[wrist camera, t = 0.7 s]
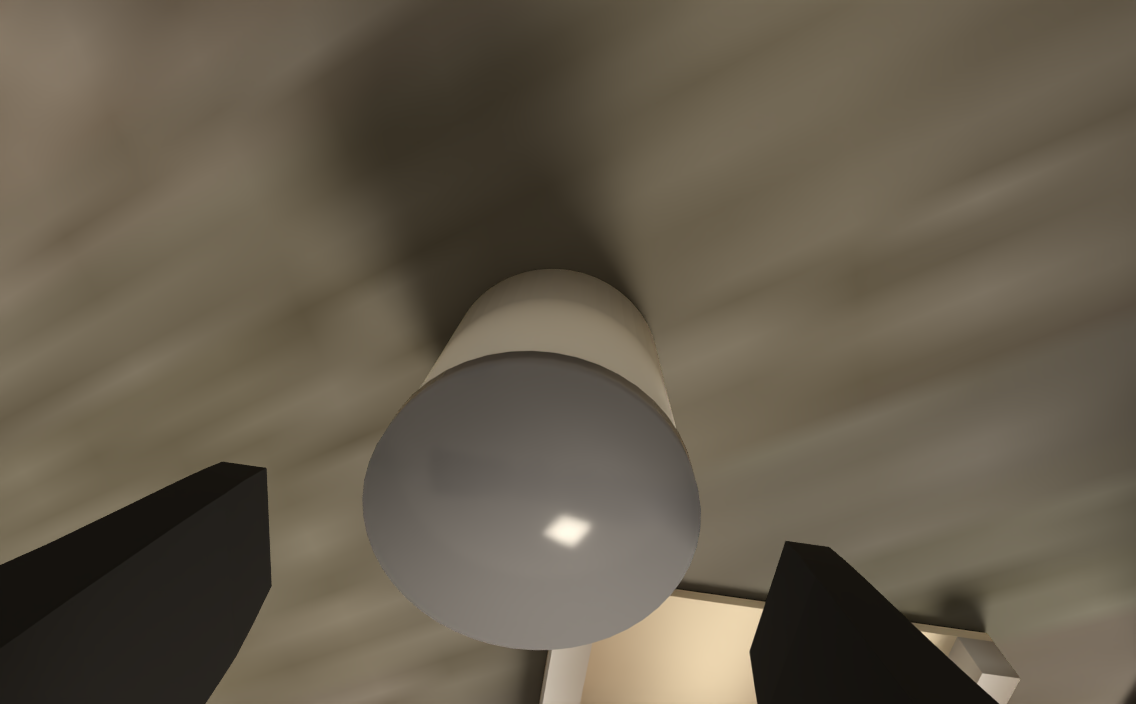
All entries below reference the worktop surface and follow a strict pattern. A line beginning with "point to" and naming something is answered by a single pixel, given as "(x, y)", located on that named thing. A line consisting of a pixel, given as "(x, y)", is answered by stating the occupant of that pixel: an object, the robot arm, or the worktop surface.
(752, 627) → the lane
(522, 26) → the worktop surface
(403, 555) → the jar
